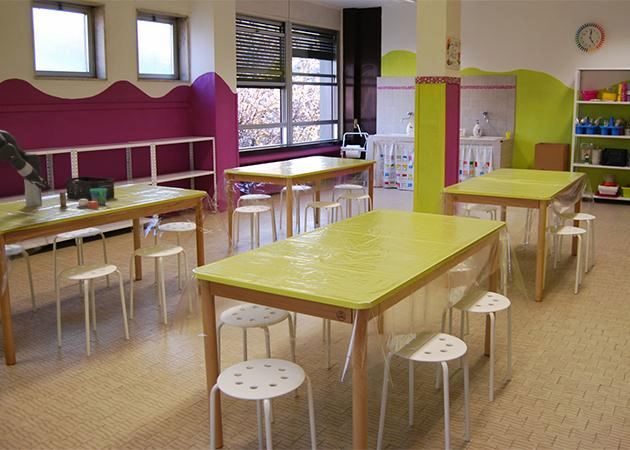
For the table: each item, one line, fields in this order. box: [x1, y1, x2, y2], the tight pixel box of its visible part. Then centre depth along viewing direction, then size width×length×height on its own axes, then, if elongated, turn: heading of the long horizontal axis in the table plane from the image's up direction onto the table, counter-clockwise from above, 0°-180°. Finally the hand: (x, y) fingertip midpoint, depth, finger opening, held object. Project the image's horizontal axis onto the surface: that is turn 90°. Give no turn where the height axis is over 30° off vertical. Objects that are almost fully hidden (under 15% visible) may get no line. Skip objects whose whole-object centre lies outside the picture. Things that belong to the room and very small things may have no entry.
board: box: [58, 201, 99, 214], centre depth 413 cm, size 19×16×5 cm
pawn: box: [59, 191, 69, 210], centre depth 413 cm, size 5×5×10 cm
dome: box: [77, 199, 89, 206], centre depth 416 cm, size 6×6×4 cm
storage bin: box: [65, 175, 115, 202], centre depth 457 cm, size 29×19×13 cm
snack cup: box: [90, 188, 107, 206], centre depth 430 cm, size 16×10×10 cm
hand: (45, 188), depth 402 cm, fingers open, 8 cm apart
